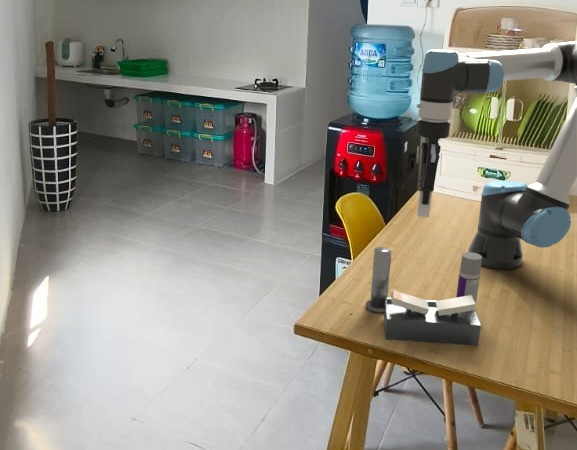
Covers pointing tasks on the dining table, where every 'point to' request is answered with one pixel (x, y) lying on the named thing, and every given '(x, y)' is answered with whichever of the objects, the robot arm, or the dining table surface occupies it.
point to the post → (379, 280)
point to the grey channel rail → (431, 325)
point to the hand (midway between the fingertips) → (422, 215)
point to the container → (469, 275)
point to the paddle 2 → (455, 305)
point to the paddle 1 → (409, 302)
